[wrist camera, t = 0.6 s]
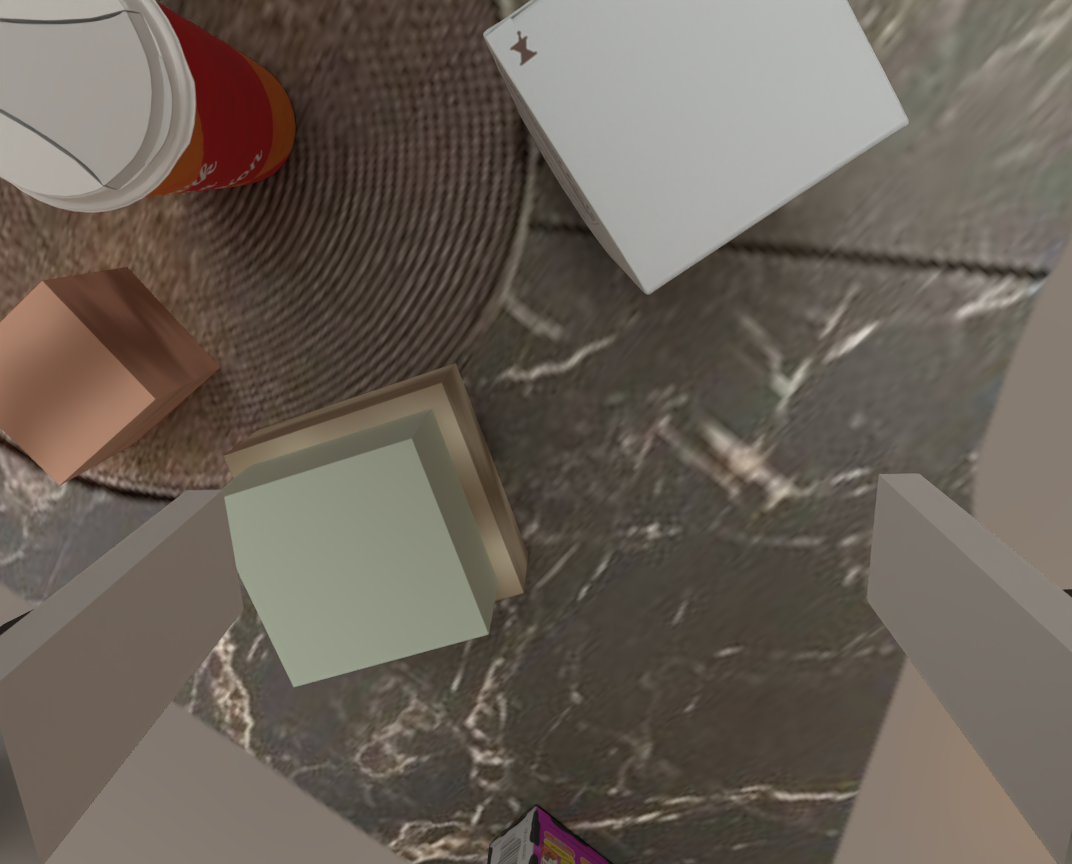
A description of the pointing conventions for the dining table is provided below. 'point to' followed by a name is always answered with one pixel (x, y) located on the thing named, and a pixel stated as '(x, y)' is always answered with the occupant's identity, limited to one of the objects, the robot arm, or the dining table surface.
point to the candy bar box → (540, 843)
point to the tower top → (361, 550)
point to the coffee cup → (130, 105)
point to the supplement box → (690, 113)
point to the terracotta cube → (92, 369)
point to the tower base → (460, 438)
